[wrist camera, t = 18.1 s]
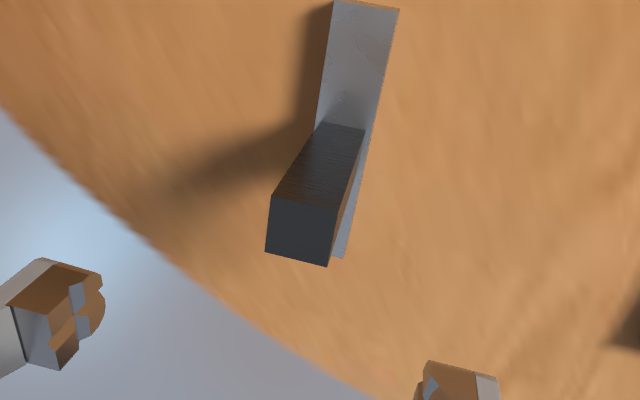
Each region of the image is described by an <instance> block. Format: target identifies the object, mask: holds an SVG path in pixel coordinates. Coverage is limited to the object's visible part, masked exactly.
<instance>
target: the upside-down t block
mask: <svg viewBox="0 0 640 400" xmlns="http://www.w3.org/2000/svg"><path fill="white" fill-rule="evenodd" d="M399 11H400V8H394V7H389V6H384V5H378V4H373V3H368V2H362V1H357V0H334V5H333V11H332V18H331V24H330V31H329V37H328V43H327V50H326V56H325V62H324V69H323V75H322V82H321V88H320V94H319V101H318V107H317V113H316V120H315V126H314V132H313V134H312V135H311V137H310V138H309V140H308V141H307V143H306V144H305V146H304V147H303V149H302V150H301V152H300V153H299V155H298V156H297V158H296V159H295V161H294V162H293V164H292V165H291V167H290V168H289V170H288V171H287V173H286V174H285V176H284V177H283V179H282V180H281V182H280V183H279V185H278V186H277V188H276V189H275V191H274V192H273V194H272V195H271V201H270V209H269V218H268V226H267V235H266V243H265V252H267V253H271V254H275V255H279V256H283V257H287V258H291V259H295V260H299V261H303V262H307V263H311V264H315V265H319V266H323V267H327V266H328V263H329V260H330V256H334V257H338V258H342V259H343V258H344V254H345V250H346V246H347V243H348V239H349V235H350V230H351V226H352V221H353V217H354V212H355V208H356V203H357V199H358V194H359V190H360V185H361V181H362V177H363V172H364V168H365V163H366V159H367V154H368V150H369V145H370V141H371V136H372V132H373V127H374V123H375V119H376V114H377V110H378V105H379V101H380V96H381V92H382V87H383V83H384V78H385V74H386V69H387V65H388V61H389V56H390V52H391V47H392V43H393V38H394V34H395V29H396V25H397V20H398V16H399Z"/></svg>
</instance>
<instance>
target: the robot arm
mask: <svg viewBox="0 0 640 400" xmlns="http://www.w3.org/2000/svg"><path fill="white" fill-rule="evenodd" d="M102 285H103V284H102V279H101V275H100V274H98V273H95V272H92V271H89V270H85V269H82V268H78V267H75V266H72V265H68V264H65V263H61V262H57V261H53V260H50V259H46V258H43V257H42V258H38V259H35V260H34V261H32V262H31V263H30V264H29V265H27V266H26V267H25V268H23V269H22V270H21V271H19V272H18V273H17V274H16V275H14V276H13V277H12V278H10V279H9V280H8V281H6V282H5V283H4V284H3V285H1V286H0V379H1V378H2V377H4V376H6V375H8V374H10V373H12V372H13V371H15V370H17V369H19V368H21V367H23V366H24V365H26V363H30V364H34V365H38V366H42V367H46V368H49V369H53V370H57V371H60V370H61V369H62V368H63V367H64V366H65V365H66V363H67V362H68V361H69V360H70V359H71V358H72V357H73V355H74V354H75V353H76V352H77V351H78V350H79V341H80V340H82V339H84V338H87V337H89V336H91V335H92V334H93V333H94V331H95V330H96V329H97V328H98V327H99V325H100V323H101V321H102V318H103V316H104V313H105V299H104V297H103V296H102V295H101V293H100V292H99V291H98V290H99V289H100V288H101V287H102ZM413 400H501V394H500V388H499V383H498V380H497V379H496V377H493V376H489V375H486V374H482V373H478V372H474V371H473V372H472V371H471V370H467V369H463V368H459V367H455V366H451V365H447V364H443V363H439V362H435V361H431V360H428V362H427V363H426V365H425V367H424V370H423V381H422V382H420V383H418V385H417V388H416V390H415V393H414V398H413Z"/></svg>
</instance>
